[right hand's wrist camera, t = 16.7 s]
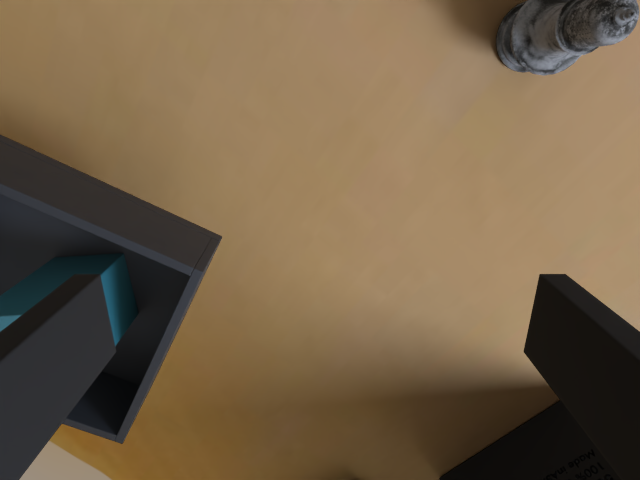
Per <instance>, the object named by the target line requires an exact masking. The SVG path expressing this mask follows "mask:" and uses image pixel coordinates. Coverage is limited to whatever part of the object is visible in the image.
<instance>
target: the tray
mask: <svg viewBox="0 0 640 480" xmlns="http://www.w3.org/2000/svg"><path fill="white" fill-rule="evenodd" d="M221 239H222V236H220V235H218V234H215V233H213V232H211V231H209V230H207V229H205V228H202V227H200V226H198V225H196V224H194V223H191V222H189V221H187V220H185V219H183V218H181V217H178V216H176V215H174V214H172V213H170V212H168V211H165V210H163V209H161V208H159V207H157V206H154V205H152V204H150V203H148V202H146V201H144V200H141V199H139V198H137V197H135V196H133V195H131V194H128V193H126V192H124V191H122V190H120V189H117V188H115V187H113V186H111V185H109V184H107V183H104V182H102V181H100V180H98V179H96V178H94V177H91V176H89V175H87V174H85V173H83V172H80V171H78V170H76V169H74V168H72V167H70V166H67V165H65V164H63V163H61V162H59V161H57V160H54V159H52V158H50V157H48V156H46V155H43V154H41V153H39V152H37V151H35V150H33V149H30V148H28V147H26V146H24V145H22V144H20V143H17V142H15V141H13V140H11V139H9V138H6V137H4V136H2V135H0V296H1V295H2V294H3V293H5V292H6V291H8V290H9V289H10V288H12V287H13V286H15V285H16V284H17V283H19V282H20V281H22V280H23V279H24V278H26V277H27V276H29V275H30V274H31V273H33V272H34V271H36V270H37V269H38V268H40V267H41V266H43V265H44V264H46V263H47V262H48V261H50V260H51V259H53V258H55V257H71V256H87V255H103V254H119V253H124V256H125V260H126V264H127V268H128V272H129V276H130V280H131V284H132V288H133V292H134V296H135V300H136V304H137V308H138V312H139V314H138V315H137V317H136V318H135V320H134V321H133V322H132V324H131V325H130V327H129V328H128V329H127V331H126V332H125V334H124V335H123V336H122V338H121V339H120V341H119V342H118V343H117V345H116V346H115V348H116V353H115V354H114V355H113V357H112V358H111V359H110V361H109V362H108V363H107V365H106V366H105V367H104V369H103V370H102V371H101V373H100V374H99V375H98V376H97V378H96V379H95V380H94V382H93V383H92V384H91V386H90V387H89V388H88V390H87V391H86V392H85V394H84V395H83V396H82V398H81V399H80V400H79V401H78V403H77V404H76V405H75V407H74V408H73V409H72V411H71V412H70V413H69V415H68V416H67V417H66V419H65V420H64V421H63V423H62V424H65V425H68V426H71V427H74V428H77V429H80V430H83V431H86V432H89V433H92V434H94V435H97V436H100V437H103V438H106V439H109V440H112V441H114V440H115V442H118V443H121V444H122V443H123V442H124V440H125V438H126V436H127V434H128V432H129V430H130V428H131V426H132V424H133V422H134V420H135V418H136V416H137V414H138V412H139V410H140V408H141V406H142V404H143V402H144V400H145V398H146V396H147V394H148V392H149V390H150V388H151V386H152V384H153V382H154V380H155V378H156V376H157V374H158V372H159V370H160V367H161V365H162V363H163V361H164V359H165V357H166V355H167V353H168V351H169V348H170V346H171V344H172V342H173V340H174V338H175V336H176V334H177V332H178V329H179V327H180V325H181V323H182V321H183V319H184V317H185V315H186V313H187V310H188V308H189V306H190V304H191V302H192V300H193V298H194V296H195V294H196V291H197V289H198V287H199V285H200V283H201V281H202V279H203V277H204V275H205V272H206V270H207V268H208V266H209V264H210V262H211V260H212V258H213V256H214V253H215V251H216V249H217V247H218V245H219V243H220V241H221Z"/></svg>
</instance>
